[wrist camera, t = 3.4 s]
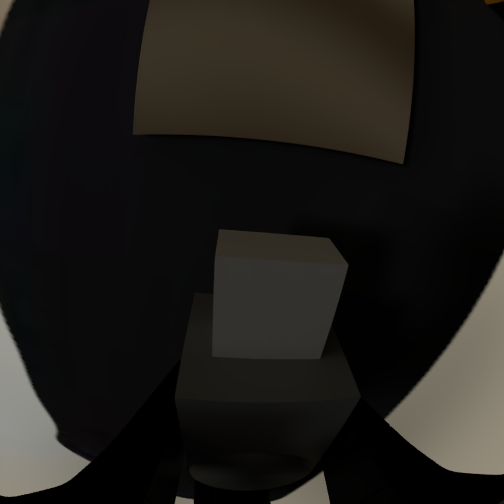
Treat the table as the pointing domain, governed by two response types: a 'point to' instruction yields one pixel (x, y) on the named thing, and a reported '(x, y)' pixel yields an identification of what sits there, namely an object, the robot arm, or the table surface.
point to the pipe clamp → (493, 1)
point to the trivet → (280, 72)
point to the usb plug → (264, 363)
